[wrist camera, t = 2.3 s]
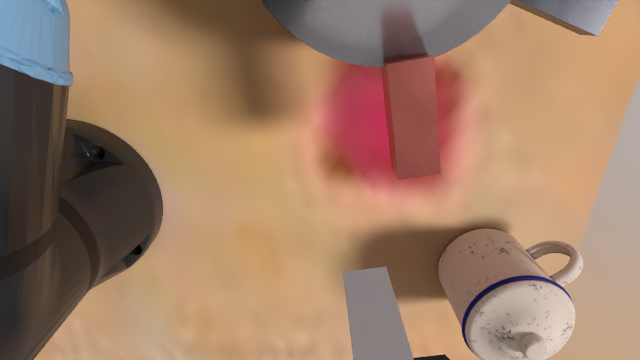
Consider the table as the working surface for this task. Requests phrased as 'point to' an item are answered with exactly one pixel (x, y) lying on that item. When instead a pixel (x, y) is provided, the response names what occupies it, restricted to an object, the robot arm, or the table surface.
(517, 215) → the table surface
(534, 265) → the teacup with lid
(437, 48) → the lid
